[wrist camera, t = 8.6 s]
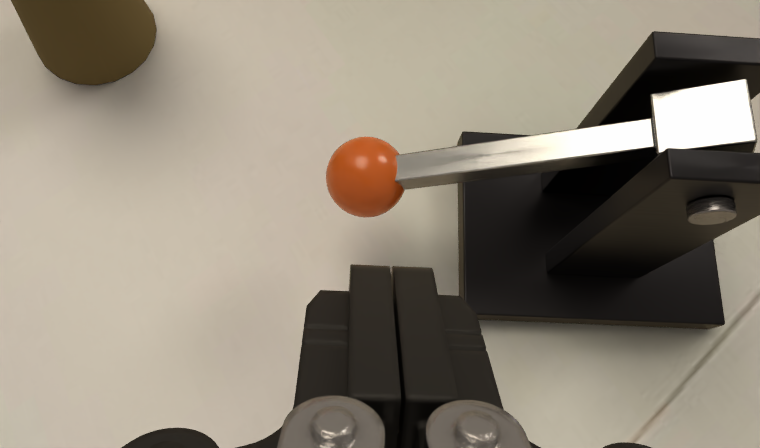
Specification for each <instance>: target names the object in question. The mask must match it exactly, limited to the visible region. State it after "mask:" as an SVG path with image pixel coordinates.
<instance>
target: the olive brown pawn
mask: <svg viewBox="0 0 760 448" xmlns="http://www.w3.org/2000/svg"><path fill="white" fill-rule="evenodd" d="M11 1H12V3H13V5H14V7H15V9H16V11H17V13H18V15H19V17H20V19H21V22H22V24H23V26H24V28H25V30H26V32H27V34H28V36H29V38H30V40H31V42H32V44H33V46H34V48H35V50H36V52H37V54H38V55H39V57H40V59H41V60H42V62H43V64H44V65H45V67H46V68H48V69H49V70H50V71H51V72H53V73H54V74H55V75H56V76H58V77H59V78H62V79H65V80H67V81H70V82H73V83H75V84H87V85H98V84H103V83H108V82H113V81H116V80H118V79H120V78H122V77H124V76H126V75H128V74H130V73H132V72H133V71H134V70H135V69H136V68H137V67H138V66H140V65H141V64H142V63H143V62H144V61H145V60H146V58H147V56H148V55H149V53H150V51H151V49H152V48H153V46H154V41H155V35H156V25H155V20H154V16H153V13H152V12H151V10H150V9H149V7H148V6H147V4H146V3H145V1H144V0H11Z"/></svg>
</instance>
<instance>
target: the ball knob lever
mask: <svg viewBox="0 0 760 448" xmlns="http://www.w3.org/2000/svg"><path fill="white" fill-rule="evenodd" d="M650 104H651V118H648V119H641V120H634V121H627V122H620V123H614V124H607V125H600V126H593V127H586V128H579V129H573V130H566V131H559V132H552V133H545V134H538V135H531V136H525V137H518V138H511V139H504V140H497V141H490V142H484V143H477V144H470V145H463V146H456V147H449V148H442V149H436V150H429V151H422V152H415V153H408V154H401V155H400V154H399V153H398V152H397V150H396V149H395V148H394V147H392V146H391V145H390V144H389V143H387V142H385V141H383V140H381V139H378V138H374V137H358V138H354V139H352V140H349V141H347V142H346V143H344V144H342V145H341V146H340V147H339V148H338V149H337V150H336V151H335V152H334V154H333V155H332V157H331V159H330V161H329V163H328V166H327V171H326V183H327V187H328V191H329V193H330V195H331V197H332V199H333V200H334V202H335V203H336V204H337V205H338V206H339V207H340V208H341V209H342V210H344V211H346V212H347V213H349V214H352V215H354V216H358V217H375V216H378V215H381V214H383V213H386V212H387V211H389V210H390V209H391V208H393V207H394V206H395V205H396V204H397V203H398V201H399V200H400V198H401V197H402V195H403V192H404V190H406V189H414V188H422V187H430V186H438V185H446V184H454V183H462V182H470V181H479V180H487V179H495V178H503V177H511V176H519V175H527V174H535V173H543V172H551V171H559V170H567V169H575V168H583V167H591V166H599V165H607V164H616V163H624V162H632V161H640V160H648V159H655V158H656V157H657V156H658V155H659V154H661V153H662V152H663V151H664V150H665V149H667V148H679V149H696V150H714V151H731V152H748V153H754V150H755V147H756V143H757V135H756V129H755V123H754V117H753V111H752V105H751V99H750V93H749V88H748V82H747V79H745V78H744V79H738V80H731V81H725V82H719V83H713V84H706V85H700V86H694V87H687V88H681V89H675V90H669V91H662V92H656V93H652V94H651V95H650Z"/></svg>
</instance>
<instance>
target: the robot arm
mask: <svg viewBox="0 0 760 448" xmlns="http://www.w3.org/2000/svg"><path fill="white" fill-rule="evenodd" d="M122 448H219V447H218V446H217V444H216V443H215V442H214V441H213V440H212V439H211V438H210V437H208V436H207V435H205V434H203V433H201V432H198V431H196V430H191V429H187V428H167V429H161V430H156V431H153V432H150V433H147V434H145V435H142V436H140V437H138V438H136V439H134V440H133V441H131V442H129V443H128V444H126V445H125V446H123V447H122ZM237 448H540V447H538V446H536V445H535V444H533V443H531V442H530V441H528V438H527V436H526V433H525V431H524V430H523V428H522V426H521V425H520V424H519V422H518V421H517V420H516V419H515V418H514V417H513V416H512V415H510V414H509V413H507V412H506V411H504V410H503V406H502V403H501V399H500V396H499V392H498V388H497V385H496V381H495V378H494V374H493V371H492V367H491V364H490V360H489V357H488V353H487V351H486V346H485V343H484V339H483V336H482V335H481V328H480V325H479V321H478V318H477V314H476V312H475V311H474V310H473V309H472V308H471V307H470V306H469V305H468V304H467V303H466V302H465V301H464V300H463V298H462V297H461V296H451V295H438V293H437V288H436V283H435V278H434V273H433V269H432V268H422V267H399V266H393V267H392V272H390V266H373V265H351V266H350V282H349V291H326V290H320V291H319V293H318V294H317V295H316V296H315V297H314V298H313V299H312V301H311V302H310V303H309V304H308V305H307V308H306V315H305V323H304V331H303V339H302V347H301V354H300V362H299V370H298V378H297V385H296V393H295V401H294V407H293V410H292V411H291V412H290V413H289V414H288V416H287V417H286V419H285V421H284V423H283V426H282V427H281V428H280V429H279V430H277V431H276V432H275V433H273V434H272V435H270V436H268V437H267V438H265V439H263V440H260V441H258V442H256V443H252V444H249V445H245V446H241V447H237ZM603 448H651V447H648V446H645V445H641V444H636V443H615V444H610V445H607V446H605V447H603Z"/></svg>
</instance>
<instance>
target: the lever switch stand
mask: <svg viewBox="0 0 760 448" xmlns="http://www.w3.org/2000/svg"><path fill="white" fill-rule="evenodd" d="M744 78H745V79H747V82H748V88H749V93H750V99H753V98H754V97H755V96H756V95H758V94H759V93H760V39H759V38H744V37H729V36H714V35H700V34H685V33H670V32H655V31H654V32H652V33H651V34H650V36H649V37H648V38H647V40H646V41H645V42H644V43H643V45H642V46H641V47H640V48H639V50H638V51H637V52H636V54H635V55H634V56H633V57H632V59H631V60H630V61H629V62H628V64H627V65H626V66H625V68H624V69H623V70H622V71H621V73H620V74H619V75H618V76H617V78H616V79H615V80H614V81H613V83H612V84H611V85H610V87H609V88H608V89H607V90H606V92H605V93H604V94H603V95H602V97H601V98H600V99H599V101H598V102H597V103H596V104H595V106H594V107H593V108H592V109H591V111H590V112H589V113H588V115H587V116H586V117H585V118H584V120H583V121H582V122H581V123H580V125H579V126H578V127H577V129H579V128H586V127H593V126H600V125H607V124H614V123H620V122H627V121H634V120H641V119H648V118H651V104H650V95H651V94H652V93H656V92H662V91H669V90H675V89H681V88H687V87H694V86H700V85H706V84H713V83H719V82H725V81H731V80H738V79H744ZM525 136H531V135H514V134H497V133H480V132H462V134H461V136H460V139H459V141H458V146H463V145H470V144H477V143H484V142H490V141H497V140H504V139H511V138H518V137H525ZM758 215H760V153H748V152H731V151H714V150H696V149H679V148H667V149H665V150H664V151H663V152H662V153H661V154H659V155H658V156H657V157H656V158H655V159H648V160H640V161H632V162H624V163H616V164H607V165H599V166H591V167H583V168H575V169H567V170H559V171H551V172H543V173H535V174H527V175H519V176H511V177H503V178H495V179H487V180H479V181H470V182H462V183H458V237H459V296H461V297H462V298H463V300H464V301H465V302H466V303H467V304H468V305H469V306H470V307H471V308H472V309H473V310H474V311H475V312H476V314H477V318H478V320H501V321H525V322H550V323H574V324H598V325H622V326H646V327H670V328H695V329H712V328H715V327H718V326H722V325H724V324H725V321H724V314H723V306H722V299H721V292H720V285H719V278H718V270H717V263H716V256H715V249H714V242H713V239H715V238H716V237H718V236H720V235H722V234H724V233H726V232H728V231H730V230H732V229H734V228H736V227H737V226H739V225H741V224H743V223H745V222H747V221H749V220H751V219H753V218H755V217H757V216H758Z"/></svg>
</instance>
